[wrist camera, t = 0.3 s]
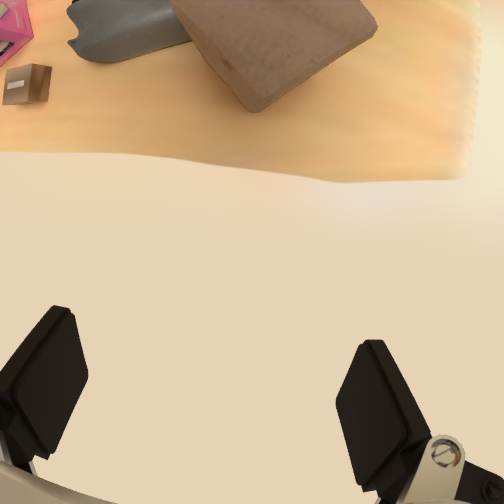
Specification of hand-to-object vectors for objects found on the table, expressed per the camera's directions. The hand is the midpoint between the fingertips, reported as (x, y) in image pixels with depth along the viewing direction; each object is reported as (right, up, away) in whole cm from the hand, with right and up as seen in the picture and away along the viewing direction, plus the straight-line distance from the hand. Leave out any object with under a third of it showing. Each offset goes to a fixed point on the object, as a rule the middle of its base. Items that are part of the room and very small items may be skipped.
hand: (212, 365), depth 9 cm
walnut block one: (-29, +27, +22) cm, 45 cm away
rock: (-12, +33, +20) cm, 40 cm away
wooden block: (+2, +26, +23) cm, 35 cm away
